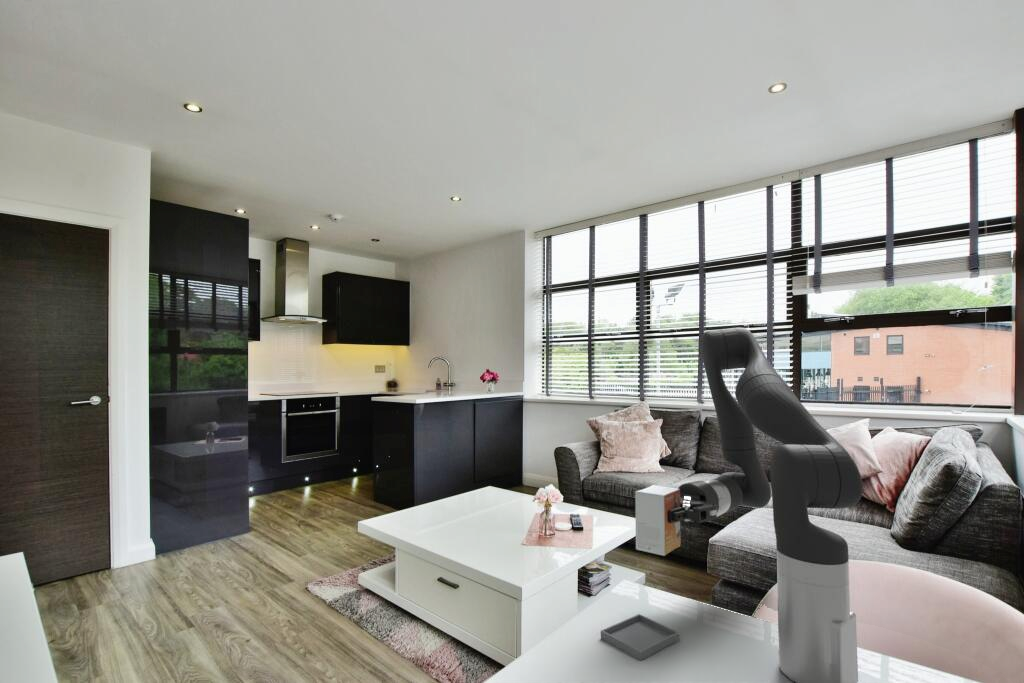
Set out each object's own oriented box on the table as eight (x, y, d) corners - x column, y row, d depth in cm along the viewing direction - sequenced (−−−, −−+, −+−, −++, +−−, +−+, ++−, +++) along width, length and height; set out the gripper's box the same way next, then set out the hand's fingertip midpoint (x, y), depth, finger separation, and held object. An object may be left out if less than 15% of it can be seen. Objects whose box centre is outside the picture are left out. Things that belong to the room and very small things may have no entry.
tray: (679, 640, 83) (679, 632, 83) (640, 660, 76) (640, 652, 76) (639, 620, 89) (639, 613, 89) (600, 638, 83) (600, 630, 83)
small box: (664, 557, 87) (664, 495, 88) (634, 550, 91) (634, 490, 91) (681, 545, 93) (681, 488, 94) (653, 539, 97) (652, 484, 98)
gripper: (672, 475, 107) (621, 484, 97) (736, 487, 96) (686, 499, 86) (672, 511, 107) (621, 524, 97) (737, 527, 95) (687, 544, 85)
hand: (652, 512), depth 91 cm, fingers closed on small box, 6 cm apart
